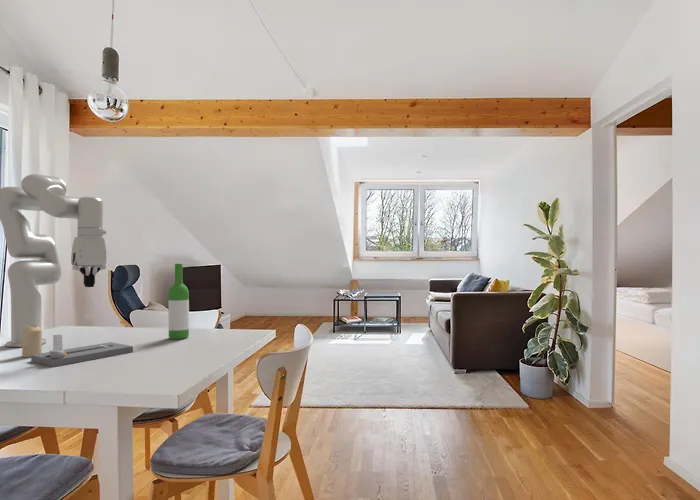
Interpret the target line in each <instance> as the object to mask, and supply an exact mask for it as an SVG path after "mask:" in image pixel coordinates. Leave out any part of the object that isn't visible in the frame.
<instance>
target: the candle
mask: <svg viewBox="0 0 700 500" xmlns="http://www.w3.org/2000/svg"><path fill="white" fill-rule="evenodd" d="M42 338H43V330H42V327H41V328H39V327H38V326H27V327H26V328H25V329H24V330H23V331H22V347H21V349H22V350H21V354H22V358H31V355H34V354H41V353H43V344H42Z"/></svg>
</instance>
